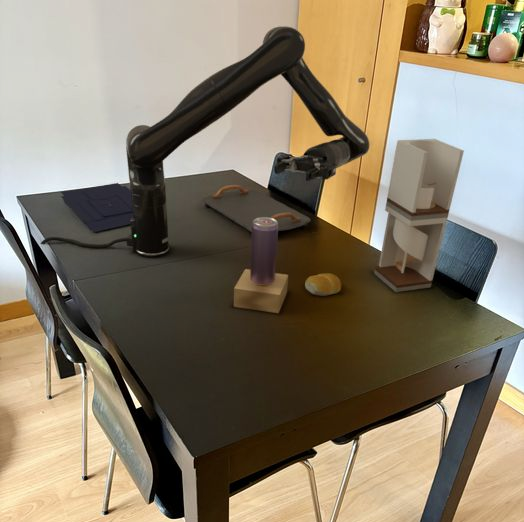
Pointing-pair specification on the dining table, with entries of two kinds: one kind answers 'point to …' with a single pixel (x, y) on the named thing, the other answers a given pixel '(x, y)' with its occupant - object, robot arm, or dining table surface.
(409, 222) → the architectural tower model
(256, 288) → the birch block
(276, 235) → the beverage can
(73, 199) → the folded navy cloth
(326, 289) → the bread roll
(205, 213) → the dining table surface
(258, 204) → the serving tray
